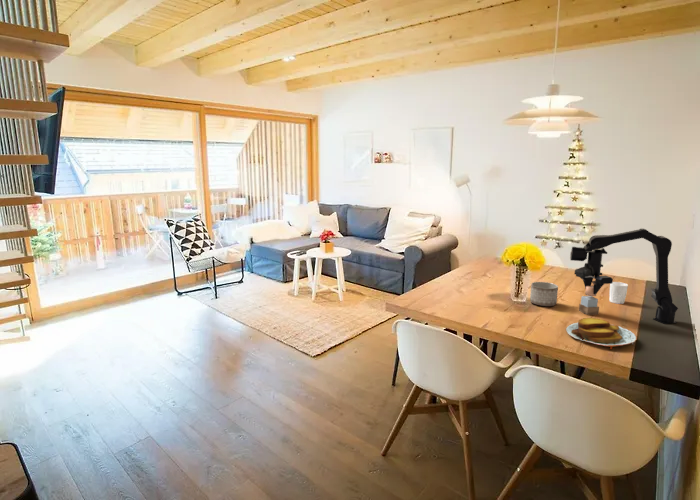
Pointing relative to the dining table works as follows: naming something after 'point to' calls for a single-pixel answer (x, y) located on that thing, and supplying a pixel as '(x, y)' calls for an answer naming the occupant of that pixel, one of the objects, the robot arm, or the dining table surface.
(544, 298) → the planter
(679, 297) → the dining table surface
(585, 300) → the tower top
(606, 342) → the food on plate
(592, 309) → the tower base
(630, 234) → the robot arm
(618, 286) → the white cup
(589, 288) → the pink rounded block
